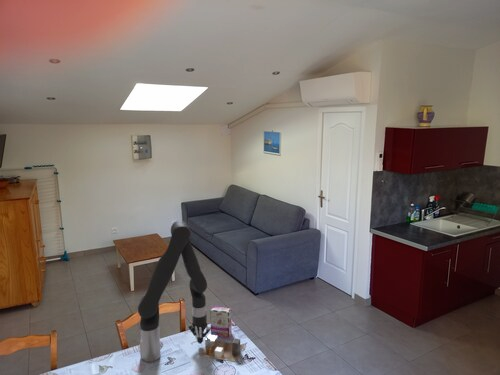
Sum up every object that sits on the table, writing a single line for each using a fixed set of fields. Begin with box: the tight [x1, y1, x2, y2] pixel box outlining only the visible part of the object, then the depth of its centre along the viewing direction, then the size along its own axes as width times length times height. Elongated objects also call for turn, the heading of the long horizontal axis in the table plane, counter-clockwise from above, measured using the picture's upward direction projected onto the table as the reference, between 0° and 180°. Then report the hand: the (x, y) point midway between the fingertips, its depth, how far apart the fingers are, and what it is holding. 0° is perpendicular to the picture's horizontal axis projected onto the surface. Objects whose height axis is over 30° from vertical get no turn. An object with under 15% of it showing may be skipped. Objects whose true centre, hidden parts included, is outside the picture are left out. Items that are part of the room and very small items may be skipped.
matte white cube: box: [215, 347, 223, 358], centre depth 181 cm, size 4×4×4 cm
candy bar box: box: [209, 305, 232, 338], centre depth 199 cm, size 11×5×16 cm, turn 76°
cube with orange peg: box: [204, 334, 219, 354], centre depth 185 cm, size 5×8×6 cm, turn 163°
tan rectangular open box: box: [199, 338, 245, 363], centre depth 185 cm, size 20×14×8 cm
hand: (200, 342), depth 189 cm, fingers closed
